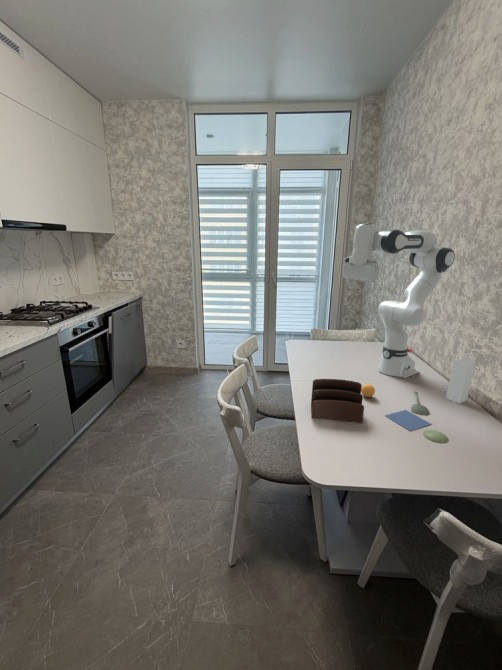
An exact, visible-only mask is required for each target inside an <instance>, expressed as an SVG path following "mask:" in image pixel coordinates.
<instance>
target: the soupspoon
mask: <svg viewBox="0 0 502 670" xmlns="http://www.w3.org/2000/svg"><path fill="white" fill-rule="evenodd" d="M413 394H414V395H415V399H416V403H415V404H412V405H411V407H410V409H411V413H413V414H414V415H417V416H418V415H419V416H426V417H427V416H429V409H428V407H426V406H425V405H422V404H421V403H420V401H419V397H418V391H416V390H414V391H413Z"/></svg>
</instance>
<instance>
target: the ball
mask: <svg viewBox="0 0 502 670" xmlns="http://www.w3.org/2000/svg"><path fill="white" fill-rule="evenodd" d="M375 393H376V389H375V387H374V386H373V385H372V384H370V383H365V384H364V385H362V388H361V394H362V395H363V396H364V397H366V398H372V397H373V396H375Z"/></svg>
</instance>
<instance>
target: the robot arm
mask: <svg viewBox="0 0 502 670" xmlns="http://www.w3.org/2000/svg"><path fill="white" fill-rule="evenodd" d="M352 240H353V241H352V245H353V249H352V252H351V255H350V256H347V257H345V258H344V260H343V263H344V264H343V267H342V278H343V279H347V282H348V289H352V290H353V289H354V288H355V284H354V283H353V282H354V281H355V280H357V281H364V282H365V283H364V284H365V285H364V286H363V287H362V291H363V292H368V291H369V288H370V286H371V284H372V283H376V282H378V280H379V262H377V261H376V260H372V258H373V253H377V254H378V253H380V254H391V255H392V254H394V255H395V254H399V253H400V252H401V251H403V252H404V253H408V254H409V253H410V254H409V258H408V261H409V263H410V265H411V266H412V267H414V268H419V269H421V271H420V272H419V274H417V276H416V277H415V278H414V279H413V280H412V281H411V282H410V284H409V285H408V286H407V288H405V290H404V297H405V298H406V300H405V301H402V302H401V301H396V300H384V301H382V302H381V303H380V304H379V306H378V308H377V313H378V316H379V317H380V318H381V320H382V322H383V325H384V331H385V333H384V334H385V337H384V345H383V347H382V353H381V356H380V360H379V363H378V364H377V371H378V372H380V373H382V374H384V375H386V376H390V377H398V378H404V379H405V378H406V379H407V378H409V377H410V376H414V375H416V374H418V373H420V369H418V368H416V361H415V360H414V359H413V358H412V357H411V356H409V354H410V353H411V352H413V351H412V348H409V347H408V348H407V346H408V339H409V334H408V332H407V331H406V330H405V328H404V327H403V325H405V326H409V327H411V326H412V327H413V326H414V327H418V326H420V325H421V324H422V323H423V322H424V320H425V318H426V311H425V310H424V303H425V301H427V299H428V297H429V296H430V295H431V293H432V292H433V291H434V290H435V289H436V287H437V285H438V283H439V282H440V280H441V277H442V276H441V274H442V273H445V272H446V271H447V270H448V269H449V268H450V267H451V266H452V265H453V264H454V262H455V259H456V255H455V251H454V250H453V249H451V248H449V247H445V246H444V247H442V246H441V247H439V246H437V244H438V243H437V242H438V238H437V236H436V234H435V233H433V232H430V231H429V230H419V229H416V230H408V231H406V232H405V233H404V232H403V231H401V230H399V229H391V230H379V229H378V228H376V226H375V223H373V222H366V223H365V222H364V223H360V224H358V225H356V227H355V229H354V234H353V239H352Z"/></svg>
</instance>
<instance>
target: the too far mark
mask: <svg viewBox="0 0 502 670" xmlns="http://www.w3.org/2000/svg"><path fill="white" fill-rule="evenodd" d="M422 435H423V436H424V438H426V439H427V440H429V441H431V442H434V443H439V444H445V443H448V442H449V437H448V436H447V435H446V434H444V433H443V432H441V431H439V430H436V429H435V430H434V429H426V430H423V432H422Z"/></svg>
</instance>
